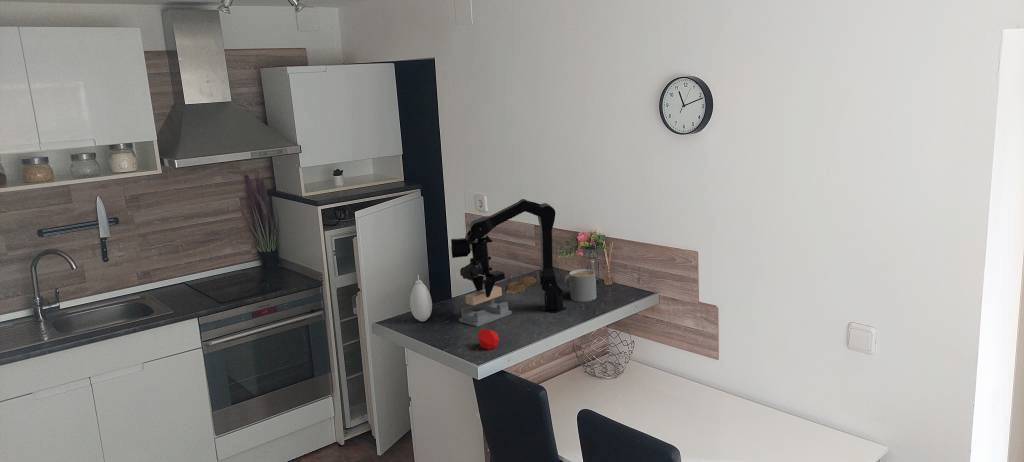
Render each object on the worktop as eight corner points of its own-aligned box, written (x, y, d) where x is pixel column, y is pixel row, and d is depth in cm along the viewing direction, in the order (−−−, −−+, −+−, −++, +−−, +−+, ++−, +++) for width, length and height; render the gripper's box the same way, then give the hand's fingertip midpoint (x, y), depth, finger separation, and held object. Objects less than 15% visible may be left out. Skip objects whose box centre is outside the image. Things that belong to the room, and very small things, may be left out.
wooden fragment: (519, 295, 294) (519, 292, 294) (495, 293, 299) (495, 291, 299) (545, 277, 316) (545, 275, 316) (523, 276, 321) (522, 274, 321)
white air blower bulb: (427, 324, 266) (422, 277, 262) (408, 323, 269) (403, 276, 265) (436, 317, 273) (432, 271, 270) (418, 316, 276) (413, 270, 272)
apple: (503, 332, 237) (489, 319, 242) (486, 341, 234) (472, 327, 239) (503, 347, 241) (490, 334, 246) (486, 357, 238) (473, 343, 243)
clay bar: (501, 295, 271) (501, 287, 271) (473, 305, 262) (472, 297, 261) (494, 293, 274) (494, 285, 274) (466, 303, 265) (465, 295, 264)
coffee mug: (601, 297, 283) (600, 272, 281) (582, 303, 277) (581, 278, 275) (578, 290, 294) (577, 266, 291) (559, 296, 288) (558, 271, 286)
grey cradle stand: (511, 313, 272) (510, 302, 271) (477, 326, 260) (475, 314, 259) (493, 308, 279) (492, 297, 278) (459, 321, 268) (458, 309, 267)
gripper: (446, 256, 266) (450, 297, 269) (480, 263, 253) (484, 306, 256) (470, 249, 273) (473, 290, 277) (504, 256, 260) (507, 298, 263)
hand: (484, 296), depth 268 cm, fingers closed on clay bar, 4 cm apart
